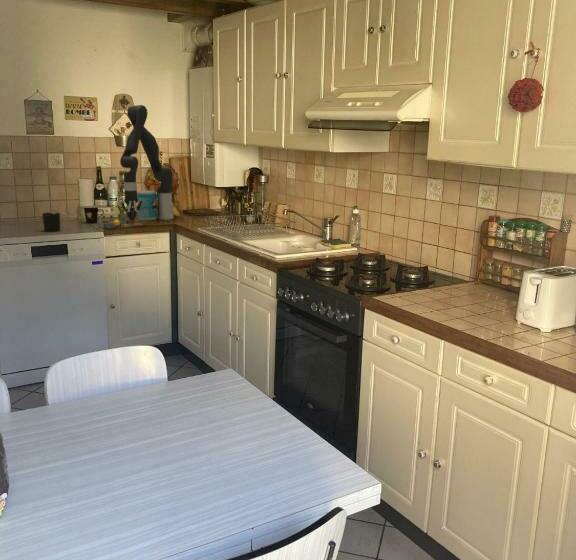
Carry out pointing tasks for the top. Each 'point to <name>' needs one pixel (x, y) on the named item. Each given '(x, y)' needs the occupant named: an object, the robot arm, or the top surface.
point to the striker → (132, 218)
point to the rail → (130, 224)
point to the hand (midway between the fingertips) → (131, 217)
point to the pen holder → (51, 222)
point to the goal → (105, 224)
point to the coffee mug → (91, 214)
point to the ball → (116, 222)
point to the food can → (147, 205)
